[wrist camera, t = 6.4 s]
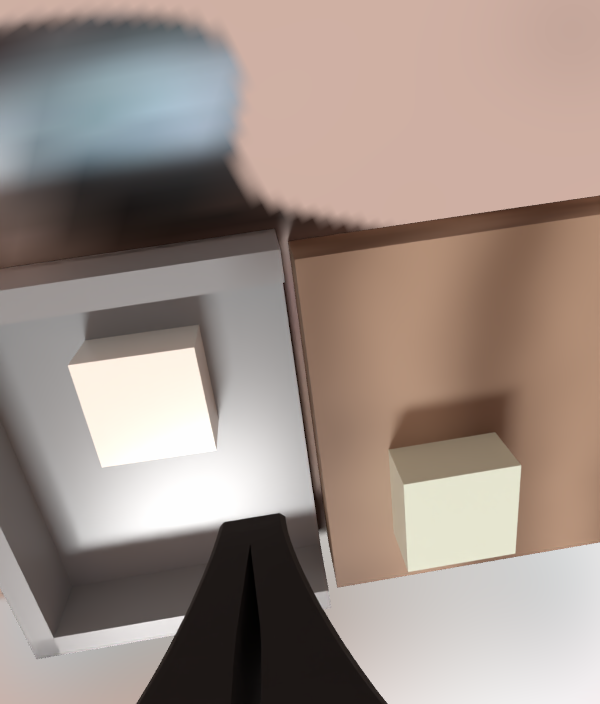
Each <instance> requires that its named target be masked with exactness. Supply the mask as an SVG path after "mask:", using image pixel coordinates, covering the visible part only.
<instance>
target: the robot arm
mask: <svg viewBox="0 0 600 704" xmlns="http://www.w3.org/2000/svg"><path fill="white" fill-rule="evenodd" d="M137 704H387V702H386V701H385V700H384V699H383V697H382V696H381V695H380V694H379V692H378V691H377V690H376V689H375V687H374V686H373V684H372V683H371V682H370V680H369V679H368V678H367V676H366V675H365V673H364V672H363V671H362V669H361V668H360V667H359V665H358V664H357V662H356V661H355V660H354V658H353V656H352V655H351V653H350V652H349V650H348V649H347V648H346V646H345V644H344V643H343V641H342V640H341V638H340V637H339V635H338V634H337V632H336V630H335V629H334V627H333V625H332V624H331V622H330V620H329V619H328V617H327V615H326V613H325V612H324V610H323V608H322V607H321V605H320V603H319V601H318V599H317V597H316V596H315V594H314V592H313V590H312V588H311V586H310V584H309V582H308V580H307V578H306V576H305V574H304V572H303V570H302V567H301V565H300V563H299V561H298V558H297V556H296V553H295V551H294V548H293V545H292V542H291V540H290V536H289V533H288V529H287V523H286V518H285V516H284V515H282V514H281V513H276V514H270V515H264V516H258V517H252V518H246V519H240V520H234V521H227V522H224V523H223V524H222V525H221V526H220V528H219V531H218V535H217V538H216V541H215V544H214V547H213V550H212V553H211V555H210V558H209V561H208V563H207V566H206V568H205V571H204V574H203V576H202V578H201V581H200V583H199V585H198V588H197V590H196V592H195V594H194V597H193V599H192V601H191V604H190V606H189V608H188V610H187V612H186V614H185V616H184V618H183V620H182V622H181V624H180V626H179V628H178V630H177V632H176V634H175V636H174V639H173V640H172V642H171V644H170V646H169V648H168V650H167V652H166V654H165V656H164V657H163V659H162V661H161V663H160V665H159V667H158V668H157V670H156V672H155V674H154V675H153V677H152V679H151V681H150V682H149V684H148V686H147V687H146V689H145V690H144V692H143V694H142V695H141V697H140V699H139V700H138V702H137Z"/></svg>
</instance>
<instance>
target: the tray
mask: <svg viewBox="0 0 600 704" xmlns="http://www.w3.org/2000/svg"><path fill="white" fill-rule="evenodd" d="M283 282H285V280H284V273H283V266H282V259H281V252H280V247H279V243H278V240H277V236H276V232H275V229H269V230H262V231H255V232H248V233H241V234H234V235H228V236H221V237H214V238H207V239H200V240H193V241H187V242H180V243H173V244H166V245H159V246H152V247H145V248H139V249H132V250H125V251H118V252H111V253H104V254H97V255H91V256H84V257H77V258H70V259H63V260H56V261H49V262H43V263H36V264H29V265H22V266H15V267H8V268H1V269H0V589H1V591H2V593H3V595H4V597H5V599H6V600H7V602H8V604H9V606H10V608H11V610H12V612H13V614H14V616H15V618H16V620H17V622H18V624H19V626H20V628H21V630H22V631H23V634H24V635H25V637H26V639H27V641H28V643H29V645H30V647H31V649H32V651H33V653H34V655H35V657H36V659H40V658H46V657H51V656H57V655H63V654H68V653H75V652H80V651H86V650H92V649H98V648H103V647H109V646H115V645H120V644H126V643H132V642H138V641H144V640H149V639H155V638H161V637H167V636H172V635H175V634H176V632H177V630H178V628H179V626H180V624H181V622H182V620H183V618H184V616H185V614H186V612H187V610H188V608H189V606H190V604H191V601H192V599H193V597H194V594H195V592H196V590H197V588H198V585H199V583H200V581H201V578H202V576H203V574H204V571H205V568H206V566H207V563H208V561H209V558H210V555H211V553H212V550H213V547H214V544H215V541H216V538H217V535H218V531H219V528H220V526H221V525H222V524H223V523H224V522H227V521H234V520H240V519H246V518H252V517H258V516H264V515H270V514H276V513H281V514H282V515H284V516H285V518H286V523H287V529H288V533H289V536H290V540H291V542H292V545H293V548H294V551H295V553H296V556H297V558H298V561H299V563H300V565H301V567H302V570H303V572H304V574H305V576H306V578H307V580H308V582H309V584H310V586H311V588H312V590H313V592H314V594H315V596H316V597H317V599H318V601H319V603H320V605H321V607H322V608H323V609H327V608H331V604H330V598H329V590H328V585H327V579H326V573H325V568H324V563H323V557H322V551H321V546H320V539H319V532H318V525H317V518H316V511H315V504H314V497H313V490H312V483H311V476H310V469H309V462H308V455H307V448H306V442H305V435H304V428H303V421H302V414H301V407H300V400H299V393H298V386H297V379H296V372H295V365H294V358H293V351H292V344H291V337H290V330H289V323H288V316H287V309H286V302H285V295H284V288H283ZM192 325H199V327H200V332H201V337H202V342H203V347H204V352H205V356H206V361H207V366H208V371H209V376H210V380H211V385H212V390H213V395H214V400H215V405H216V409H217V414H218V419H219V424H218V437H217V449H216V451H209V452H203V453H196V454H189V455H183V456H176V457H169V458H163V459H156V460H149V461H143V462H136V463H129V464H123V465H116V466H110V467H103V468H102V467H101V464H100V461H99V458H98V455H97V452H96V449H95V446H94V443H93V440H92V437H91V434H90V431H89V428H88V425H87V422H86V419H85V416H84V413H83V410H82V407H81V404H80V401H79V398H78V395H77V392H76V389H75V386H74V383H73V380H72V377H71V374H70V371H69V368H68V364H69V363H70V361H71V360H72V358H73V357H74V356H75V354H76V353H77V351H78V350H79V348H80V347H81V345H82V344H83V343H84V341H85V340H92V339H99V338H106V337H114V336H121V335H128V334H135V333H142V332H149V331H156V330H164V329H171V328H178V327H185V326H192Z"/></svg>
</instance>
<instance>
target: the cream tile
mask: <svg viewBox="0 0 600 704" xmlns="http://www.w3.org/2000/svg"><path fill="white" fill-rule="evenodd" d="M68 368H69V371H70V374H71V377H72V380H73V383H74V386H75V389H76V392H77V395H78V398H79V401H80V404H81V407H82V410H83V413H84V416H85V419H86V422H87V425H88V428H89V431H90V434H91V437H92V440H93V443H94V446H95V449H96V452H97V455H98V458H99V461H100V464H101V467H102V468H103V467H110V466H116V465H123V464H129V463H136V462H143V461H149V460H156V459H163V458H169V457H176V456H183V455H189V454H196V453H203V452H209V451H216V449H217V437H218V424H219V419H218V414H217V409H216V405H215V400H214V395H213V390H212V385H211V380H210V376H209V371H208V366H207V361H206V356H205V352H204V347H203V342H202V337H201V332H200V327H199V325H192V326H185V327H178V328H171V329H164V330H156V331H149V332H142V333H135V334H128V335H121V336H114V337H106V338H99V339H92V340H85V341H84V343H83V344H82V345H81V347H80V348H79V350H78V351H77V353H76V354H75V356H74V357H73V358H72V360H71V361H70V363H69V364H68Z"/></svg>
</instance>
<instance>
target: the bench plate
mask: <svg viewBox="0 0 600 704" xmlns="http://www.w3.org/2000/svg"><path fill="white" fill-rule="evenodd" d="M288 245H289V252H290V260H291V267H292V275H293V282H294V289H295V297H296V304H297V312H298V319H299V327H300V334H301V341H302V349H303V356H304V364H305V371H306V379H307V386H308V394H309V401H310V408H311V416H312V423H313V431H314V438H315V446H316V453H317V460H318V468H319V475H320V483H321V490H322V498H323V505H324V512H325V520H326V527H327V535H328V541H329V547H330V552H331V557H332V562H333V567H334V572H335V577H336V582H337V587H344V586H349V585H355V584H361V583H367V582H372V581H378V580H384V579H390V578H396V577H402V576H407V575H413V574H419V573H425V572H430V571H436V570H442V569H447V568H453V567H459V566H465V565H470V564H477V563H483V562H488V561H494V560H499V559H506V558H512V557H517V556H523V555H529V554H535V553H540V552H546V551H552V550H558V549H564V548H569V547H574V546H581V545H587V544H592V543H598V542H600V196H594V197H587V198H580V199H573V200H567V201H560V202H553V203H546V204H539V205H532V206H526V207H519V208H512V209H506V210H498V211H492V212H485V213H478V214H471V215H465V216H458V217H451V218H444V219H437V220H431V221H423V222H417V223H410V224H403V225H396V226H389V227H383V228H376V229H369V230H362V231H355V232H349V233H342V234H335V235H328V236H321V237H315V238H308V239H301V240H294V241H288ZM493 432H495V433H496V434H497V435H498V436H499V438H500V439H501V440H502V441H503V443H504V444H505V445H506V446H507V448H508V449H509V450H510V452H511V453H512V454H513V455H514V457H515V458H516V459H517V460H518V462H519V463H520V464H521V477H520V492H519V507H518V522H517V536H516V551H515V554H510V555H504V556H498V557H493V558H487V559H481V560H475V561H470V562H464V563H458V564H452V565H446V566H441V567H435V568H429V569H423V570H417V571H412V572H408V571H407V568H406V565H405V562H404V559H403V557H402V554H401V551H400V548H399V546H398V543H397V540H396V537H395V534H394V529H393V513H392V498H391V482H390V466H389V451H388V450H389V449H395V448H401V447H407V446H414V445H420V444H426V443H432V442H438V441H444V440H450V439H456V438H463V437H469V436H475V435H481V434H487V433H493Z"/></svg>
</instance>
